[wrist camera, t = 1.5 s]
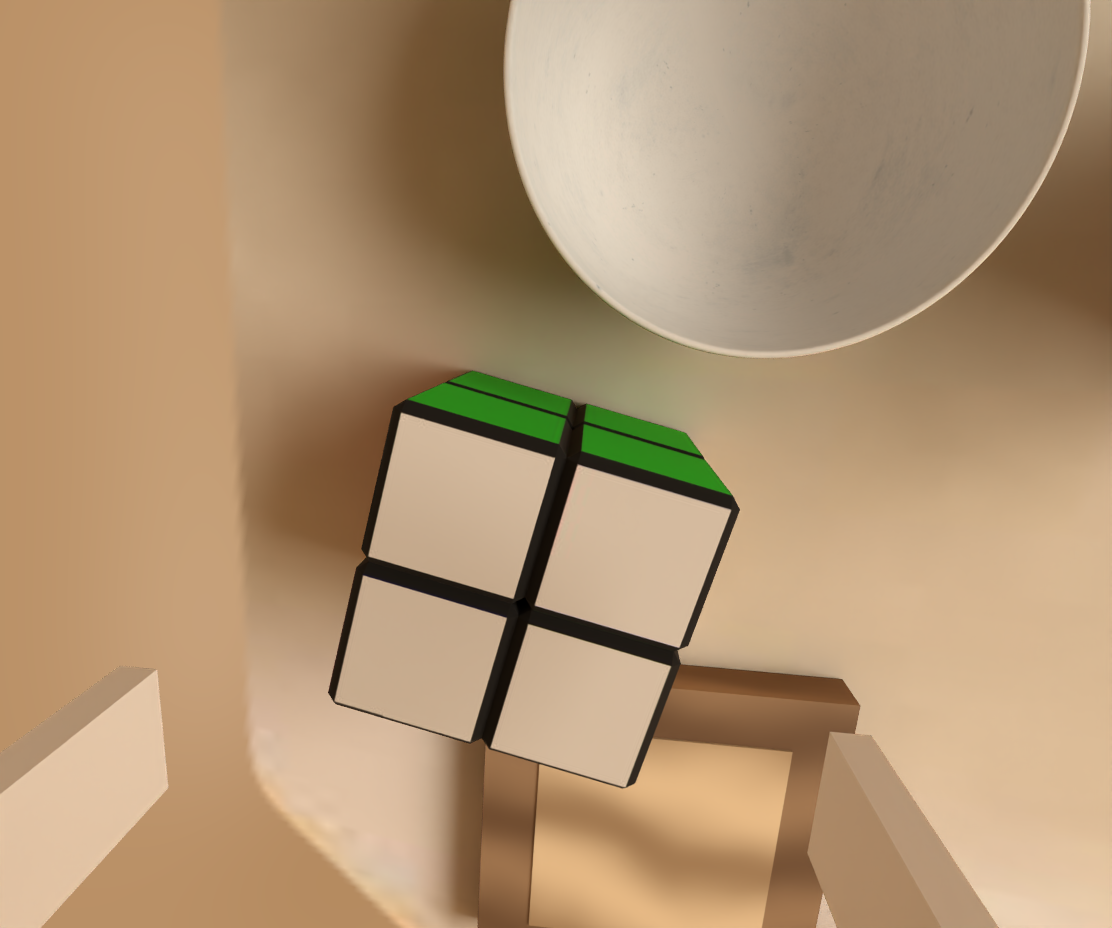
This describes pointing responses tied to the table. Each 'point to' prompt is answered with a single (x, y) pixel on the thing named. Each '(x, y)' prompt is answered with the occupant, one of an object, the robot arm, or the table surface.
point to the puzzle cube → (530, 575)
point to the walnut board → (673, 816)
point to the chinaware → (785, 153)
